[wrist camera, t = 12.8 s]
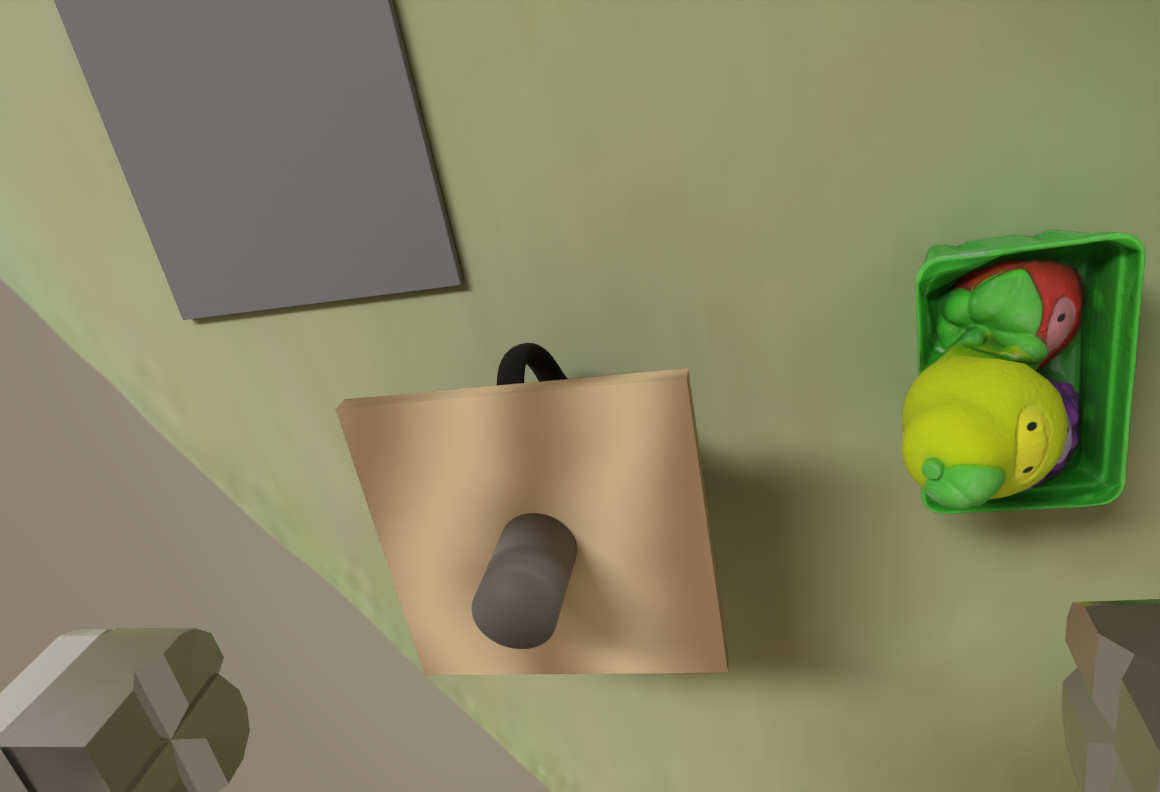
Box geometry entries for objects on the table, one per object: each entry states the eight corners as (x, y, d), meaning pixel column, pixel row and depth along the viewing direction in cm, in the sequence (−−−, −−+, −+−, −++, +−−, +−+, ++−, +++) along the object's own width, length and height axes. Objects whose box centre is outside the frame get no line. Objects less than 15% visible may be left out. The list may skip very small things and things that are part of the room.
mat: (373, -76, 34) (368, -76, 34) (463, 281, 41) (460, 284, 40) (61, -2, 38) (53, -1, 38) (188, 316, 44) (183, 319, 44)
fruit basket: (1083, 443, 39) (1196, 609, 29) (877, 458, 41) (916, 618, 31) (1097, 193, 34) (1237, 291, 24) (863, 226, 36) (905, 327, 27)
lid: (688, 368, 30) (677, 437, 25) (728, 658, 35) (725, 754, 31) (344, 399, 33) (284, 465, 29) (430, 661, 38) (390, 749, 34)
